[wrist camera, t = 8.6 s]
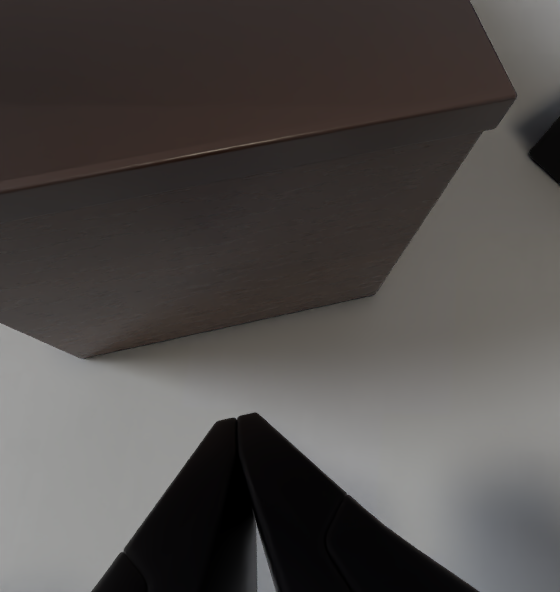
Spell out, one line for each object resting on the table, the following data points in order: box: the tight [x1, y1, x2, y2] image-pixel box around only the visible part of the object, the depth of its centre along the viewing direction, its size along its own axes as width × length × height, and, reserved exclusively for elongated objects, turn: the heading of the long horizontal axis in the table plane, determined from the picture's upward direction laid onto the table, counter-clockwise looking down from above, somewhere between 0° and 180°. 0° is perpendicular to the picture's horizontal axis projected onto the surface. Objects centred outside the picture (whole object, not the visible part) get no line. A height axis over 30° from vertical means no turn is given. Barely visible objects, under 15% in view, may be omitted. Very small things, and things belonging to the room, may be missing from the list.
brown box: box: [0, 0, 517, 358], centre depth 14 cm, size 18×11×10 cm, turn 13°
